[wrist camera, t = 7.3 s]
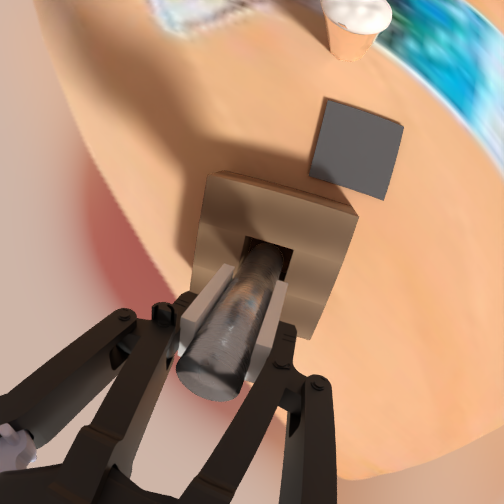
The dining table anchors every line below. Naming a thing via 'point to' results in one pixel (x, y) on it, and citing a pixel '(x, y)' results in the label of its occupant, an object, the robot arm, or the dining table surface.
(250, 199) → the hole block
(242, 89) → the dining table surface
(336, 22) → the milkshake
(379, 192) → the mat
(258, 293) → the pin
